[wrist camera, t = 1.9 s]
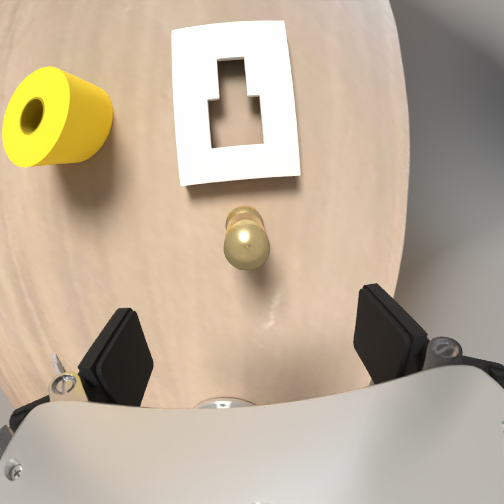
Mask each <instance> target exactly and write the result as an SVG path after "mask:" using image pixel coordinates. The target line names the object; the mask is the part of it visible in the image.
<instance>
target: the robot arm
mask: <svg viewBox="0 0 504 504" xmlns="http://www.w3.org/2000/svg"><path fill="white" fill-rule="evenodd" d="M427 335H428V334H427V333H426V332H425V331H424V330H423V328H422V327H421V326H420V325H419V324H418V323H417V322H416V321H415V320H414V319H413V318H412V317H411V316H410V315H409V314H408V313H407V312H406V311H405V310H404V309H403V308H402V307H401V306H400V305H399V304H398V303H397V302H396V301H395V300H394V299H393V298H392V297H391V296H390V295H389V294H388V293H387V292H386V291H385V290H383V289H382V288H381V287H380V286H379V285H378V284H377V283H375V284H369V285H364V286H363V289H360V291H359V298H358V308H357V317H356V325H355V333H354V340H353V343H354V348H355V350H356V352H357V353H358V355H359V357H360V359H361V360H362V362H363V364H364V366H365V367H366V369H367V371H368V373H369V374H370V376H371V378H372V380H373V381H374V383H375V385H371V386H367V387H363V388H359V389H355V390H351V391H347V392H342V393H338V394H333V395H328V396H322V397H317V398H311V399H305V400H299V401H292V402H285V403H277V404H268V405H258V406H255V405H254V404H252V403H250V402H247V401H244V400H240V399H235V398H217V399H211V400H207V401H204V402H202V403H200V404H199V405H197V406H196V407H195V408H194V409H176V408H152V407H140V405H141V402H142V399H143V396H144V393H145V390H146V387H147V384H148V381H149V378H150V375H151V372H152V370H153V359H152V356H151V354H150V351H149V348H148V345H147V342H146V340H145V337H144V334H143V331H142V328H141V325H140V321H139V318H138V315H137V313H136V311H133V310H132V309H131V308H118V309H117V310H116V312H115V313H114V315H113V316H112V317H111V319H110V320H109V322H108V323H107V324H106V326H105V327H104V329H103V330H102V331H101V333H100V334H99V336H98V337H97V339H96V340H95V342H94V343H93V344H92V346H91V347H90V349H89V350H88V352H87V353H86V355H85V356H84V358H83V359H82V361H81V363H80V364H79V366H78V369H79V373H78V375H77V374H76V373H74V372H64V373H61V374H59V375H57V376H56V377H54V378H53V379H52V380H51V382H50V384H49V386H48V391H49V395H47V396H45V397H43V398H41V399H38V400H36V401H34V402H32V403H29V404H27V405H25V406H22V407H20V408H18V409H16V410H15V411H14V412H13V414H12V415H11V417H10V421H9V422H10V424H9V425H10V426H9V427H8V426H7V425H5V426H3V427H2V428H1V429H0V504H504V366H503V365H501V364H499V363H495V362H491V361H486V360H481V359H476V358H471V357H466V356H463V355H462V353H463V352H462V347H461V345H460V344H459V343H458V342H457V341H456V340H454V339H452V338H449V337H436V338H433V339H432V340H431V341H430V340H429V339H428V338H427Z"/></svg>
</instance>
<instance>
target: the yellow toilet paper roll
mask: <svg viewBox="0 0 504 504" xmlns="http://www.w3.org/2000/svg"><path fill="white" fill-rule="evenodd" d="M112 120H113V108H112V103H111V100H110V98H109V96H108V95H107V93H106V92H105V91H104V90H102V89H101V88H99V87H97V86H95V85H93V84H91V83H89V82H86V81H84V80H82V79H80V78H78V77H76V76H73V75H71V74H69V73H67V72H64V71H62V70H60V69H57V68H55V67H44V68H41V69H38V70H36V71H34V72H33V73H31V74H30V75H29V76H28V77H26V78H25V79H24V80H23V81H22V83H21V84H20V85H19V86H18V88H17V89H16V91H15V92H14V94H13V96H12V97H11V99H10V102H9V104H8V106H7V109H6V112H5V116H4V121H3V130H2V137H3V145H4V149H5V152H6V154H7V156H8V158H9V159H10V160H11V161H12V162H13V163H14V164H15V165H17V166H20V167H31V166H41V165H52V164H65V163H78V162H82V161H85V160H87V159H89V158H90V157H92V156H93V155H94V154H95V153H96V152H97V151H98V150H99V149H100V148H101V147H102V145H103V144H104V142H105V141H106V139H107V137H108V135H109V132H110V129H111V125H112Z"/></svg>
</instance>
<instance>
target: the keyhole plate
mask: <svg viewBox="0 0 504 504" xmlns="http://www.w3.org/2000/svg"><path fill="white" fill-rule="evenodd" d="M239 59H244V65H245V76H246V87H247V97H259V99H260V110H261V122H262V133H263V144H254V145H241V146H230V147H220V148H212V145H211V134H210V121H209V108H208V101H213V100H220V96H219V82H218V68H217V61H227V60H239ZM172 78H173V100H174V117H175V131H176V144H177V155H178V166H179V175H180V185H181V186H186V185H194V184H203V183H211V182H221V181H231V180H241V179H253V178H267V177H282V176H300V160H299V147H298V134H297V123H296V112H295V102H294V93H293V84H292V75H291V67H290V59H289V52H288V45H287V38H286V31H285V25H284V21H243V22H228V23H218V24H209V25H201V26H195V27H188V28H182V29H177V30H172Z"/></svg>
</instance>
